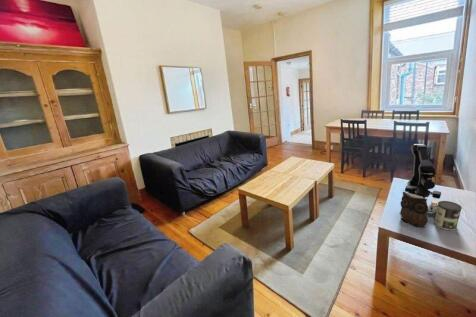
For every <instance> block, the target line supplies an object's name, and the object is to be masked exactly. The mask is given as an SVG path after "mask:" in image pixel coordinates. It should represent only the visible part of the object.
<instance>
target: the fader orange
mask: <svg viewBox="0 0 476 317" xmlns="http://www.w3.org/2000/svg"><path fill="white" fill-rule="evenodd" d="M438 202H439V201H435V200H431V203H430V205H431V207H430V208H433V205H434V204H436V205H438Z"/></svg>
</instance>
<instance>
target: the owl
mask: <svg viewBox="0 0 476 317" xmlns="http://www.w3.org/2000/svg"><path fill="white" fill-rule="evenodd" d="M400 207H401V208H400V212H399V215H400V216H401V218H400V221H402V222H403V223H404V222H405V224H408V225H409V224H410V225H409V226H412V227H414V228H422V229H425V227H426V225H427V224H428V223H429V219H428V218H429V217H428V215H427V213H426V212H428V207H429V205H428V198H426V197H425V198H423V197H422V196H421V197H420V196H417V195H415V194H411V193H408V192H405V191H403V192H402V197H401V201H400Z"/></svg>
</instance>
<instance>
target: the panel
mask: <svg viewBox="0 0 476 317" xmlns="http://www.w3.org/2000/svg"><path fill="white" fill-rule="evenodd" d="M430 207H431V203H430V204H429V205H428V212H426V213H427V217H428V216H429V217H431V218H432V217H433V218H435V217H436V212H435V213H433V211H432V209H433V208H430Z"/></svg>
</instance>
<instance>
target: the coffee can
mask: <svg viewBox="0 0 476 317" xmlns="http://www.w3.org/2000/svg"><path fill="white" fill-rule="evenodd" d="M437 202H438V204H437V205H438V207H437V212H436V217H434V222H433V223H434V225H435V226H437V228H441V229H442V230H445V231H456V230H457V228H458V224H459V219H460V217H461V211H462V206H461V205H460V204H458V203H455V202H454V201H449V200H440V201H437Z"/></svg>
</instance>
